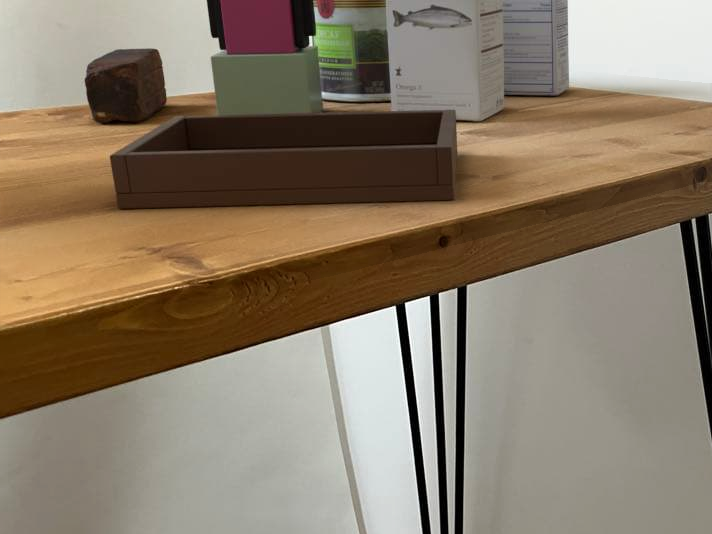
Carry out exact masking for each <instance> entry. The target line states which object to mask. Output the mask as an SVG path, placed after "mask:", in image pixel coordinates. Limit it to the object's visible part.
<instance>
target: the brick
mask: <svg viewBox="0 0 712 534" xmlns="http://www.w3.org/2000/svg"><path fill="white" fill-rule="evenodd" d="M85 73H86V75H85V77H84V86H85V93H86V99H87V103H88V106H89V109H90V111H91V116H92V119H93V121H94V122H95V123H97V124H107V123H110V122H111V121H112V122H113V121H114V122H115V121H122V122H126V123H139V122H144V121H145V120H147V119H149V118H150V117H151V116H152V115H154V114H155V113H157V112H158V111H160V110H161V109H162V108H163V107H164V106H166V104H167V100H168V99H167V89H166V81H165V80H166V79H165V75H164V66H163V60H162V57H161V54H160V51H159V49H157V48H120V49H115V50H112V51H110V52H108V53H106V54H103V55H101V56H100V57H97V58H95V59H93V60H92V61H91V62H89V63H88V64H87V66H86V71H85Z"/></svg>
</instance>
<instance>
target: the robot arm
mask: <svg viewBox="0 0 712 534" xmlns="http://www.w3.org/2000/svg"><path fill="white" fill-rule="evenodd" d="M206 6H207V7H206V8H207V14H208V22H209V23H208V24H209V30H210V35H211V38H212V39H218V45H219V46H218V47H219V50H220V51H224V50H226V43H225V35H224V26H223V18H222V10H221V1H220V0H206ZM291 7H292V17H293V28H294V38H295V46H296V47H298V48H306V47H308V46H310V43H311V41H310V37H312V36H316V23H315V12H314V1H313V0H291Z"/></svg>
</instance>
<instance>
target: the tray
mask: <svg viewBox="0 0 712 534" xmlns="http://www.w3.org/2000/svg"><path fill="white" fill-rule="evenodd" d="M457 132H458V131H457V120H456V111H455V110H419V111H392V110H384V111H382V110H381V111H380V110H379V111H339V112H338V111H337V112H320V113H290V114H247V115H218V114H214V115H213V114H210V115H208V114H207V115H206V114H205V115H204V114H203V115H175V116H174V117H172V118H170V119H168V120H167V121H165V122H163V123H161V124H160V125H158V126H157V127H155V128H153V129H152V130H150V131H148V132H147V133H145V134H143V135H141V136H140V137H138V138H137V139H135V140H134V141H133V140H132V142H130V143H128V144H127V145H125V146H124V147H122V148H120V149H118V150H116V151H115V152H114V153H111V154H110V155H109V162H110V167H111V173H112V180H113V186H114V190H115V198H116V204H117V208H118V210H119V209H120V210H121V209H122V210H124V209H162V208H168V209H169V208H194V207H195V208H201V207H203V208H205V207H235V206H237V207H238V206H240V207H242V206H272V205H273V206H275V205H311V204H347V203H352V204H353V203H384V202H385V203H386V202H387V203H388V202H423V201H453V200H455V189H456V188H455V187H456V175H457V163H458V135H457V134H458V133H457Z"/></svg>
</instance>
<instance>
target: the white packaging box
mask: <svg viewBox="0 0 712 534" xmlns="http://www.w3.org/2000/svg"><path fill="white" fill-rule="evenodd" d="M386 15H387V31H388V49H389V69H390V87H391V101H390V102H391V104H390V105H391V111H419V110H455V111H456V121H469V122H481V121H484V120H486V119H488V118H489V117H492V116H493V115H495V114H497V113H499V112H501V111H502V110H503V109H504V108H505V95H504V39H503V0H386Z"/></svg>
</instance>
